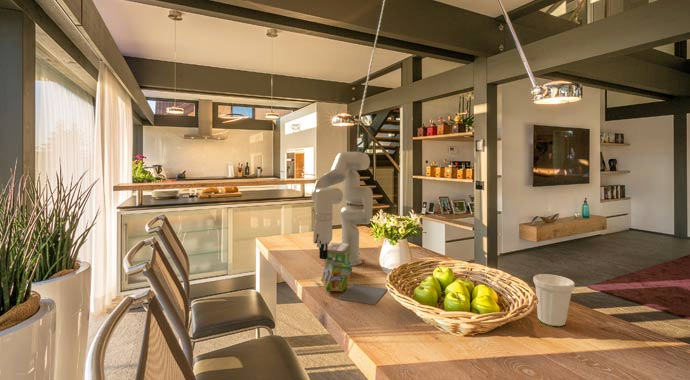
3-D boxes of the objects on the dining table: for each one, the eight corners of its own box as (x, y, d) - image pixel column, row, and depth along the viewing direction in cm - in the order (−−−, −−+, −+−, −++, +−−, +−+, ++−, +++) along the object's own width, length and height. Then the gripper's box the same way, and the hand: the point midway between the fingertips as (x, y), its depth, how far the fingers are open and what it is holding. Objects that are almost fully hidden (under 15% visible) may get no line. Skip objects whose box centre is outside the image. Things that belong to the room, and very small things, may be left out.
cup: (578, 331, 118) (581, 287, 116) (538, 328, 120) (541, 284, 118) (562, 315, 130) (565, 274, 128) (526, 312, 132) (528, 273, 131)
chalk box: (326, 291, 149) (335, 259, 146) (320, 280, 157) (328, 249, 154) (346, 292, 152) (355, 261, 149) (339, 281, 160) (347, 251, 158)
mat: (353, 284, 161) (353, 283, 161) (387, 289, 155) (387, 288, 155) (337, 299, 145) (337, 298, 145) (374, 305, 139) (374, 304, 138)
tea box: (344, 281, 166) (344, 250, 164) (323, 279, 168) (323, 249, 166) (350, 271, 180) (350, 243, 179) (331, 270, 182) (331, 242, 181)
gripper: (323, 214, 162) (323, 254, 163) (307, 218, 148) (307, 261, 149) (338, 215, 159) (338, 255, 160) (323, 220, 145) (323, 263, 146)
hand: (323, 258), depth 155 cm, fingers closed
